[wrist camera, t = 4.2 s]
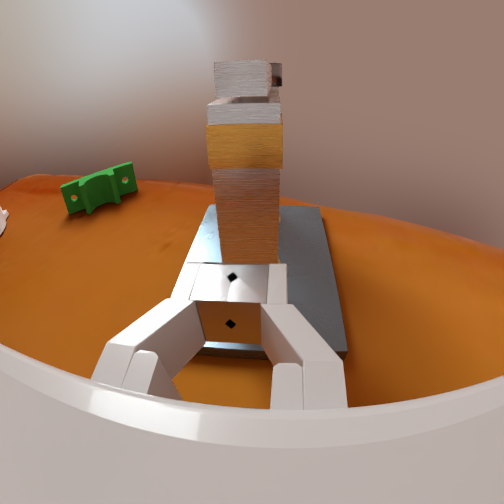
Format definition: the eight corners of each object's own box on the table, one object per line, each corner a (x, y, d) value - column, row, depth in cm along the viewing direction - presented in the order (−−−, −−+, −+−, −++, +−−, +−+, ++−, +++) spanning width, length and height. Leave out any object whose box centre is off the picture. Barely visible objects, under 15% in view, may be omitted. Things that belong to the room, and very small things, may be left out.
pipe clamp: (69, 223, 32) (58, 194, 29) (70, 213, 35) (60, 185, 32) (141, 196, 36) (134, 166, 34) (137, 188, 39) (130, 160, 36)
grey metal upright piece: (223, 322, 18) (193, 58, 9) (246, 210, 29) (240, 64, 20) (279, 325, 17) (288, 54, 8) (280, 210, 29) (281, 64, 20)
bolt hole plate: (159, 349, 17) (154, 339, 16) (210, 212, 31) (209, 203, 31) (344, 359, 16) (348, 349, 15) (318, 214, 30) (318, 205, 30)
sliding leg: (227, 315, 18) (203, 105, 10) (233, 281, 20) (218, 97, 13) (276, 317, 18) (283, 103, 10) (277, 282, 20) (281, 96, 12)
